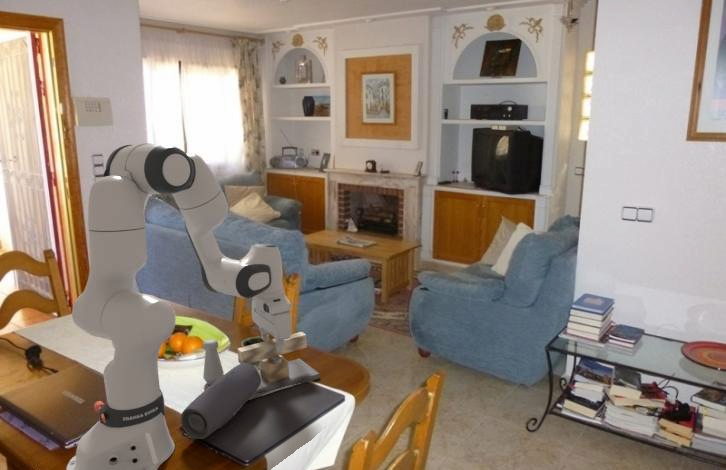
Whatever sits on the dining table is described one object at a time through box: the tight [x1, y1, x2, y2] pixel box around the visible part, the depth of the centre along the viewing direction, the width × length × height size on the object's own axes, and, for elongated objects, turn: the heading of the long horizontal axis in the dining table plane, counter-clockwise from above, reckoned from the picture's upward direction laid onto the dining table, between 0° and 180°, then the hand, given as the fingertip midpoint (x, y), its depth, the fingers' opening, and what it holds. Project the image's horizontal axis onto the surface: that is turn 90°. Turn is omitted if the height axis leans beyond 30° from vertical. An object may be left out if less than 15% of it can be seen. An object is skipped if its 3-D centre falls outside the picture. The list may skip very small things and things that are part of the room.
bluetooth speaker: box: [180, 363, 261, 440], centre depth 138 cm, size 23×9×10 cm, turn 159°
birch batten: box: [236, 331, 308, 364], centre depth 157 cm, size 20×3×4 cm, turn 123°
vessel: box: [241, 336, 268, 366], centre depth 173 cm, size 12×9×6 cm
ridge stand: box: [255, 354, 321, 394], centre depth 158 cm, size 22×13×8 cm, turn 123°
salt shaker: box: [202, 338, 225, 386], centre depth 158 cm, size 6×6×13 cm
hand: (272, 344), depth 157 cm, fingers open, 8 cm apart
